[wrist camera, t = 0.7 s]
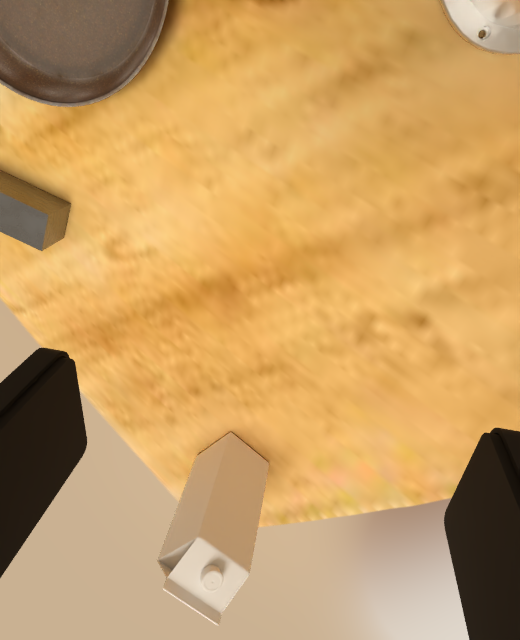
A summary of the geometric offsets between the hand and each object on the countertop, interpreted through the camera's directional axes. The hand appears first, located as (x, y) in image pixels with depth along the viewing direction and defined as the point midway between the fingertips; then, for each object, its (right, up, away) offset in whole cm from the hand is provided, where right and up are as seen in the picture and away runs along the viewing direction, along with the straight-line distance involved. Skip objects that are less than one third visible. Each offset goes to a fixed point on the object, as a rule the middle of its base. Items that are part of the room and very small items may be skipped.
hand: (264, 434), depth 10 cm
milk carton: (-4, -16, +49) cm, 51 cm away
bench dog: (-25, +15, +35) cm, 45 cm away
